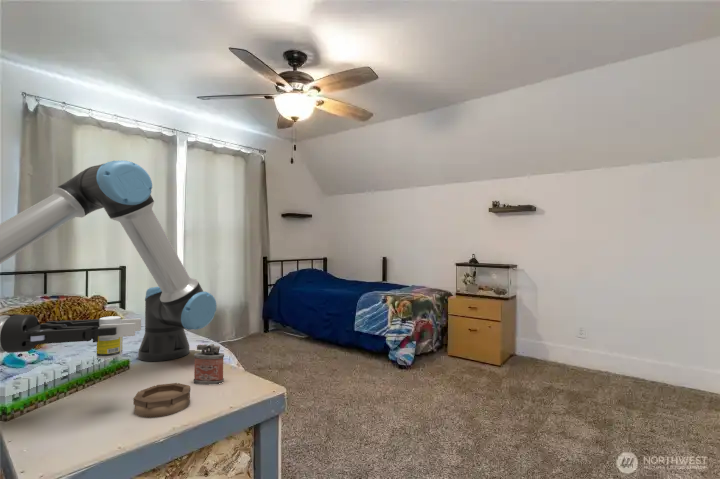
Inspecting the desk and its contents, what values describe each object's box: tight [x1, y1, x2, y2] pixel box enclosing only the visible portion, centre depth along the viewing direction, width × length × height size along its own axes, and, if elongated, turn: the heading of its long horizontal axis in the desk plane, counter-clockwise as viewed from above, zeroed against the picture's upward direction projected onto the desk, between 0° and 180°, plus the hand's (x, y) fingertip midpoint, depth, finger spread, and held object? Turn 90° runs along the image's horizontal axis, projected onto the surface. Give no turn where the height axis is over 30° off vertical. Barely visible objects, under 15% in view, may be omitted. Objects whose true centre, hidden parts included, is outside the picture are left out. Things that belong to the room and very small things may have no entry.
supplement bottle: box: [96, 315, 123, 360], centre depth 82 cm, size 5×5×8 cm
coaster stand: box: [132, 382, 191, 419], centre depth 83 cm, size 11×11×3 cm
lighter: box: [193, 343, 225, 386], centre depth 99 cm, size 8×3×10 cm, turn 84°
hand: (137, 326), depth 84 cm, fingers closed on supplement bottle, 5 cm apart
